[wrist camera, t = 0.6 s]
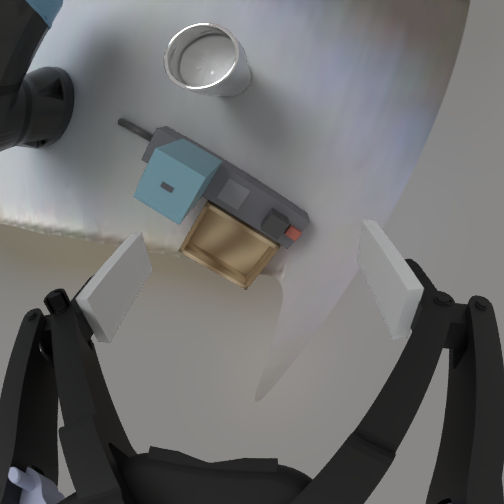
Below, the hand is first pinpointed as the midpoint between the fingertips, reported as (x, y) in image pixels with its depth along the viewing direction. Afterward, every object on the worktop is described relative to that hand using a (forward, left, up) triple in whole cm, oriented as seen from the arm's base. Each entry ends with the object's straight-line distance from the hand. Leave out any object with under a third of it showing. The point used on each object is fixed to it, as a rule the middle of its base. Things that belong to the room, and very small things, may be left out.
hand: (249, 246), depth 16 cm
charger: (-8, -5, -23) cm, 25 cm away
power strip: (-7, -5, -24) cm, 26 cm away
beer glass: (-11, +8, -24) cm, 28 cm away
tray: (+2, -12, -24) cm, 27 cm away
